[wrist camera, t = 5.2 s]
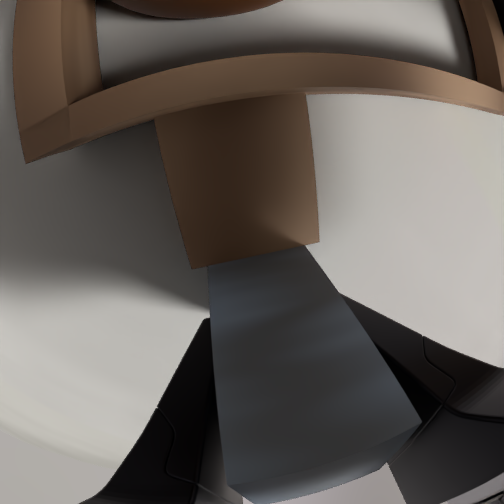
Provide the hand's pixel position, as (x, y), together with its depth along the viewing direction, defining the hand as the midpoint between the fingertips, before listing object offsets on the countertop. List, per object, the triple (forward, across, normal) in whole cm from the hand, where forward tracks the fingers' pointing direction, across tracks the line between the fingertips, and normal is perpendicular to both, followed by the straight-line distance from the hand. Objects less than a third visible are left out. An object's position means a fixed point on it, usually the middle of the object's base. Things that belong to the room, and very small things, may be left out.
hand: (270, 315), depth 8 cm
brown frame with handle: (+2, -4, -10) cm, 11 cm away
